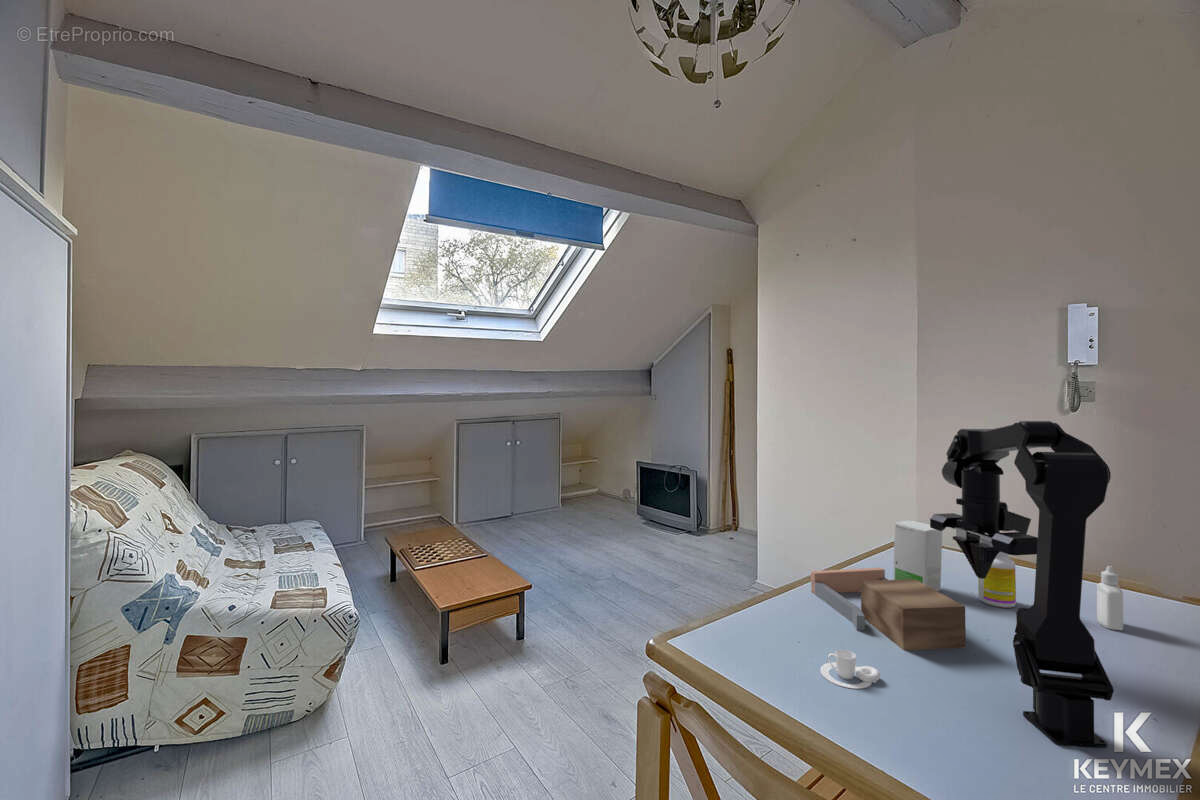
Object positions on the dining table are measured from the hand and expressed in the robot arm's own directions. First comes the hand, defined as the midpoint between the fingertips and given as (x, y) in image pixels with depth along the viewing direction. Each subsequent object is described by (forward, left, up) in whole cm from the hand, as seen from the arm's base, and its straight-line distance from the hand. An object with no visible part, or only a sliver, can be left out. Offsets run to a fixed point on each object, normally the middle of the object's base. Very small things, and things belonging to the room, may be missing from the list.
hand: (981, 577), depth 94 cm
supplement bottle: (+21, -16, -13) cm, 30 cm away
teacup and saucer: (-15, +28, -14) cm, 35 cm away
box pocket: (+17, +13, -13) cm, 25 cm away
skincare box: (+29, -3, -13) cm, 32 cm away
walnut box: (+5, +10, -13) cm, 18 cm away
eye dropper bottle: (+11, -31, -13) cm, 35 cm away
